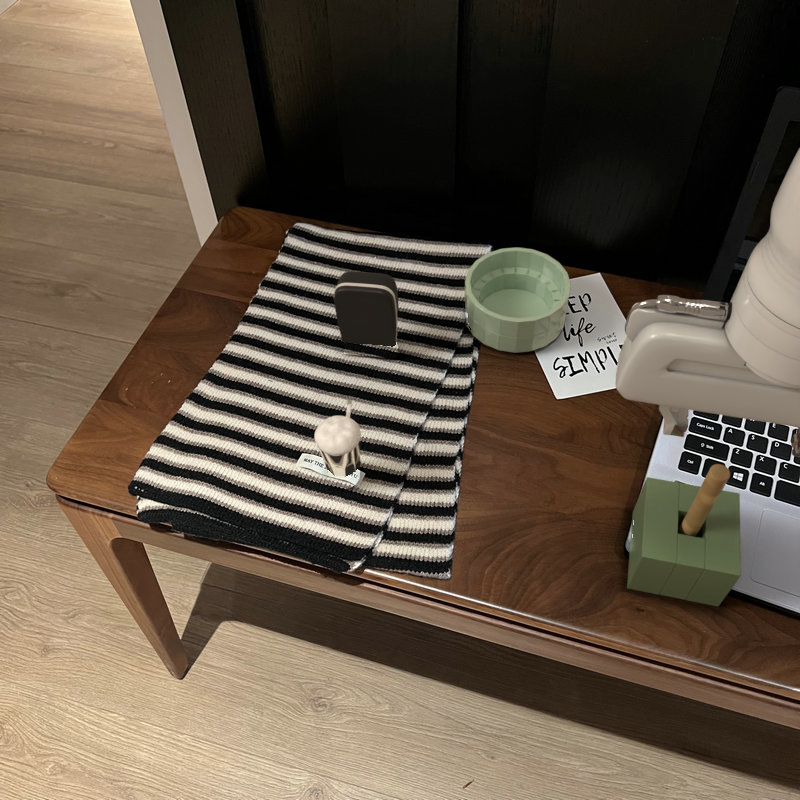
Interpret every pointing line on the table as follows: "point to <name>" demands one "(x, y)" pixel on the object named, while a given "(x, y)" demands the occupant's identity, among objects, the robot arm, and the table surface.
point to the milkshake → (339, 443)
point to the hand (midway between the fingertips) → (736, 439)
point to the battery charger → (367, 308)
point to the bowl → (516, 299)
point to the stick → (704, 500)
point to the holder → (684, 544)
